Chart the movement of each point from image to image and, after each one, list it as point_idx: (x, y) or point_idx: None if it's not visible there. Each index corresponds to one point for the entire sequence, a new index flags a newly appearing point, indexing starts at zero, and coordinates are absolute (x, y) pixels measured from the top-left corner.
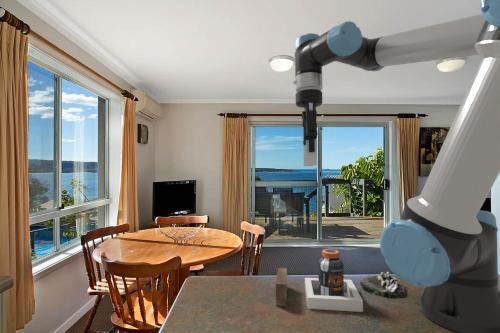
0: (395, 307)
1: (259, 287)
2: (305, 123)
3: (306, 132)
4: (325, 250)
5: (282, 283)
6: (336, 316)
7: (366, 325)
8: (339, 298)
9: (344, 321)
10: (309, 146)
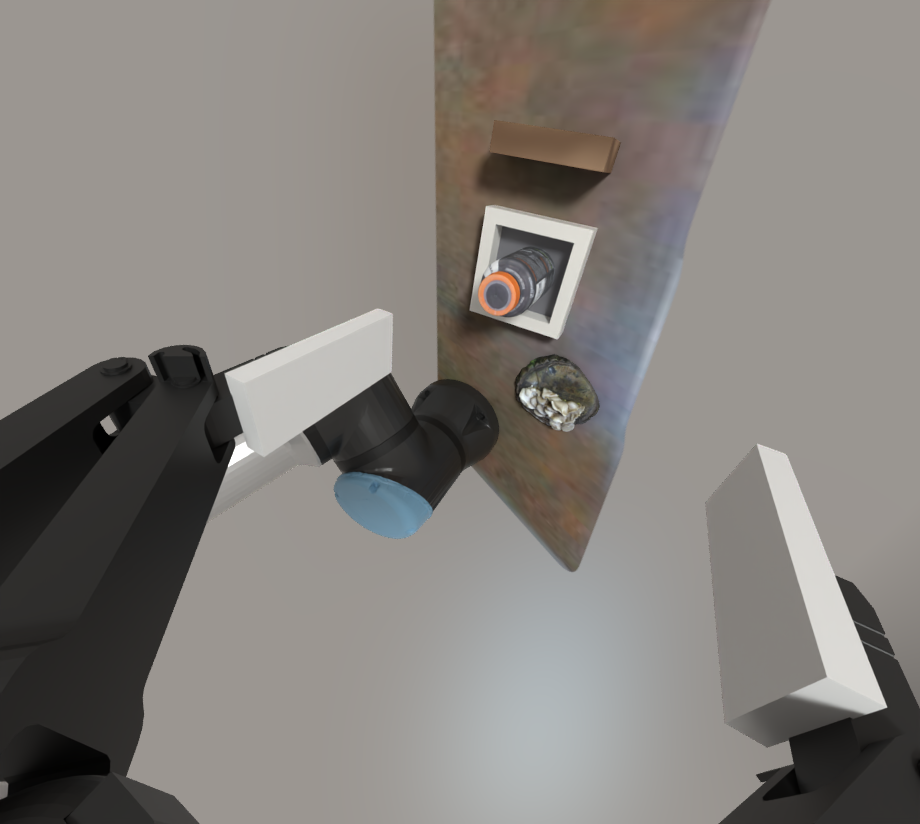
0: (487, 363)
1: (631, 69)
2: (55, 632)
3: (150, 425)
4: (501, 284)
5: (495, 141)
6: (467, 253)
7: (443, 289)
8: (478, 272)
9: (453, 260)
10: (256, 359)
